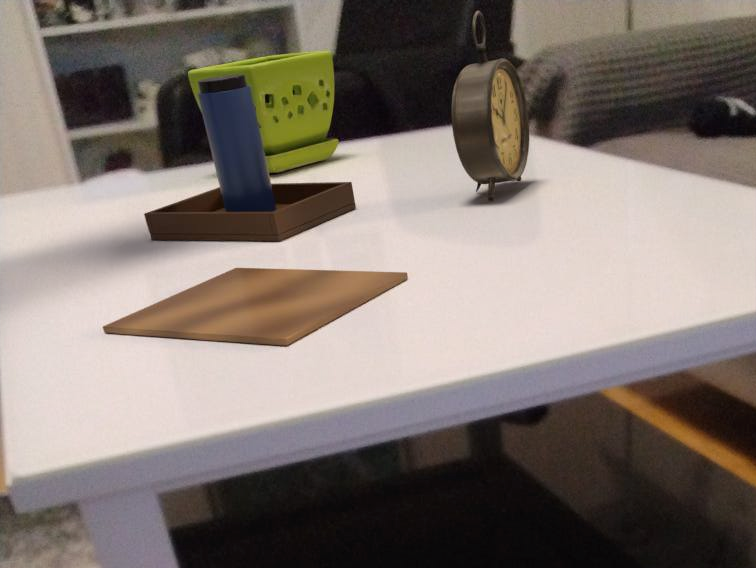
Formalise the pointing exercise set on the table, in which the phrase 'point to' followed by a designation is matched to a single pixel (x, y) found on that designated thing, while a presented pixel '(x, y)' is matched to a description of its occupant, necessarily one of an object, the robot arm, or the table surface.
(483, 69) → the alarm clock
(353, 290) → the wooden board
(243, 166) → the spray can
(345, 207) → the tray
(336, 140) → the flower pot
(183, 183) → the table surface
